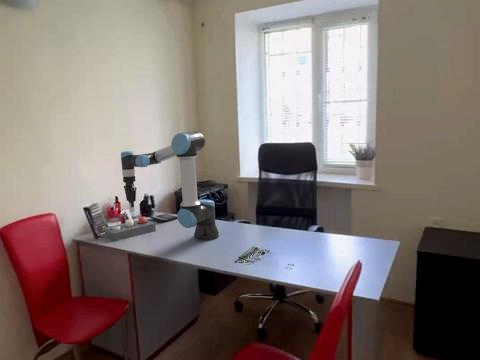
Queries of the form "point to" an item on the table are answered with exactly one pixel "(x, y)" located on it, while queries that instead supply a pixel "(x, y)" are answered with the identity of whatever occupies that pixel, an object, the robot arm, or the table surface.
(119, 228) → the button sage
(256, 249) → the model
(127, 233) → the grey tray
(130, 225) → the button cream
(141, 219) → the button red
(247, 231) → the table surface
